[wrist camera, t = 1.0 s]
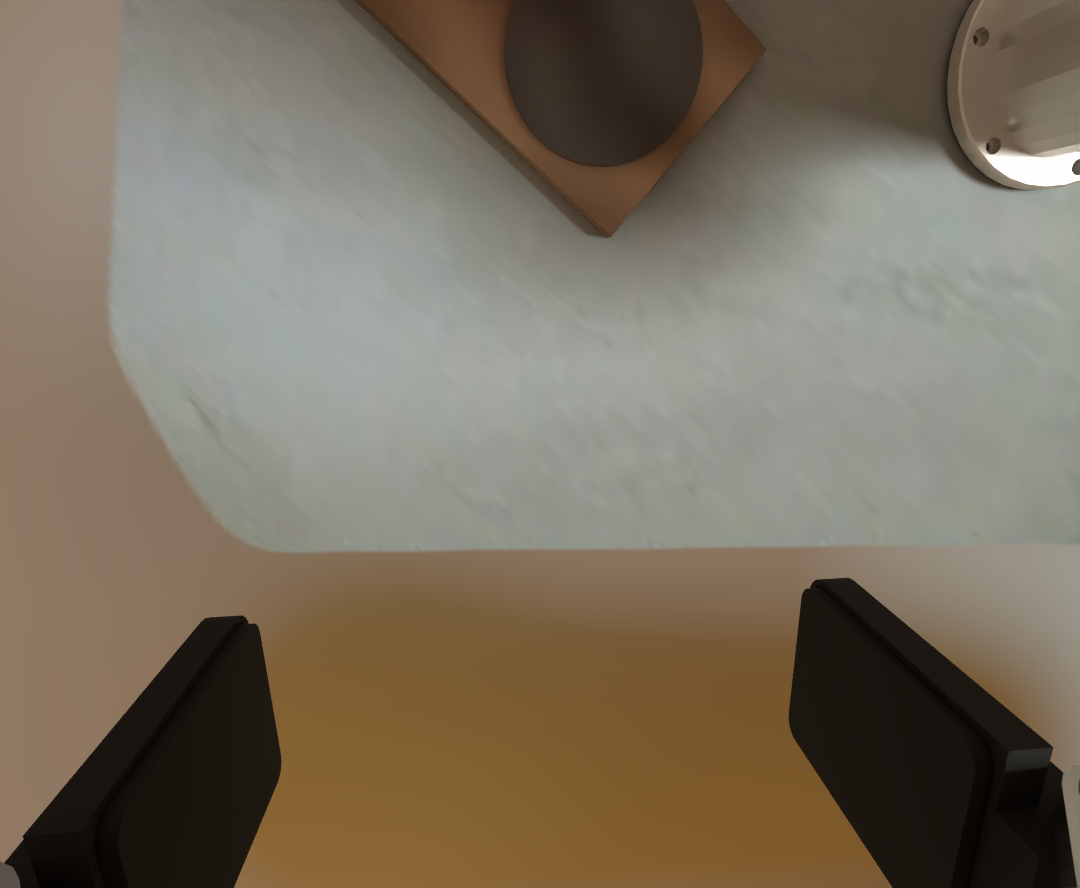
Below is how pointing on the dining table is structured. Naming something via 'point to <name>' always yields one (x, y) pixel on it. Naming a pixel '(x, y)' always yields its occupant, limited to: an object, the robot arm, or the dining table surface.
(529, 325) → the dining table surface
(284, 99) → the dining table surface
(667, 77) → the board
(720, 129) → the dining table surface
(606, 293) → the dining table surface
